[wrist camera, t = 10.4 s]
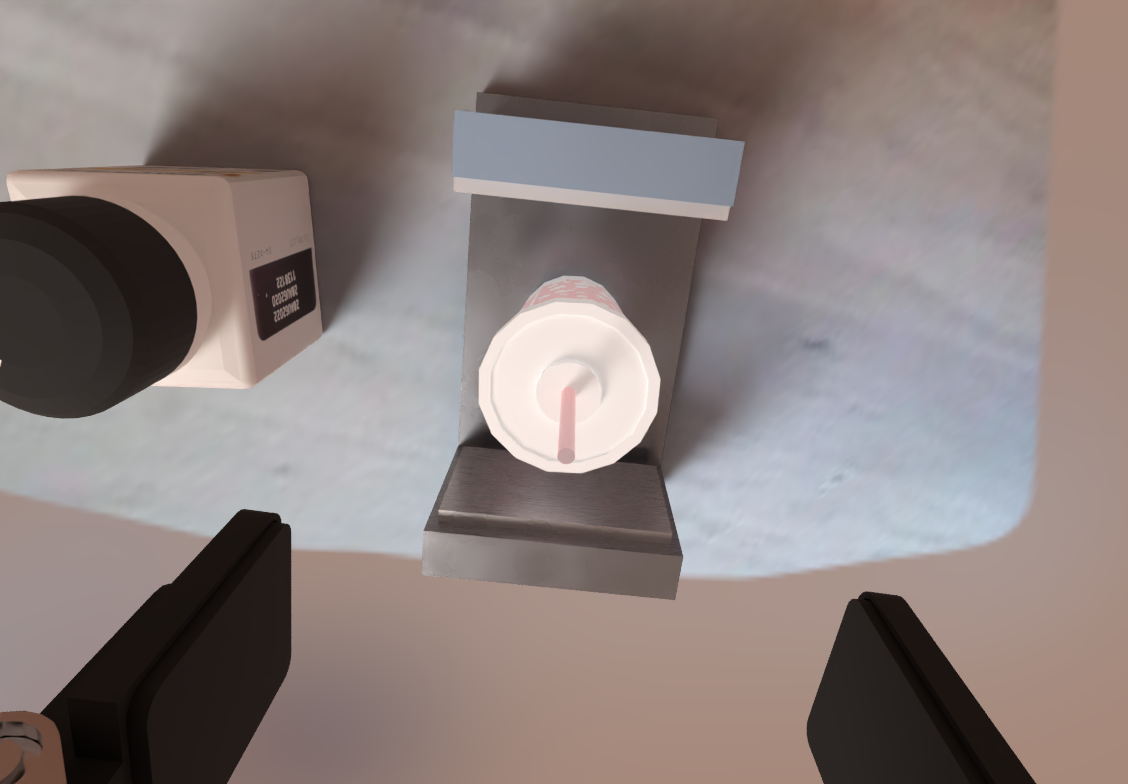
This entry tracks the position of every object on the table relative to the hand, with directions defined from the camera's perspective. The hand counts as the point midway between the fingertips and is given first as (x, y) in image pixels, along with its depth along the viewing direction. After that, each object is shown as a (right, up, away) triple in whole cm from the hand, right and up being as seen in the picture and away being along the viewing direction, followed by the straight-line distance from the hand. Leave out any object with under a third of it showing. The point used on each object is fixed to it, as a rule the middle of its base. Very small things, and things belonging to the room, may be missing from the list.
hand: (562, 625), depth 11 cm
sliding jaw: (+1, +14, +17) cm, 22 cm away
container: (-15, +10, +20) cm, 28 cm away
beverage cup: (0, +7, +20) cm, 21 cm away
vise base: (+1, +8, +21) cm, 22 cm away
